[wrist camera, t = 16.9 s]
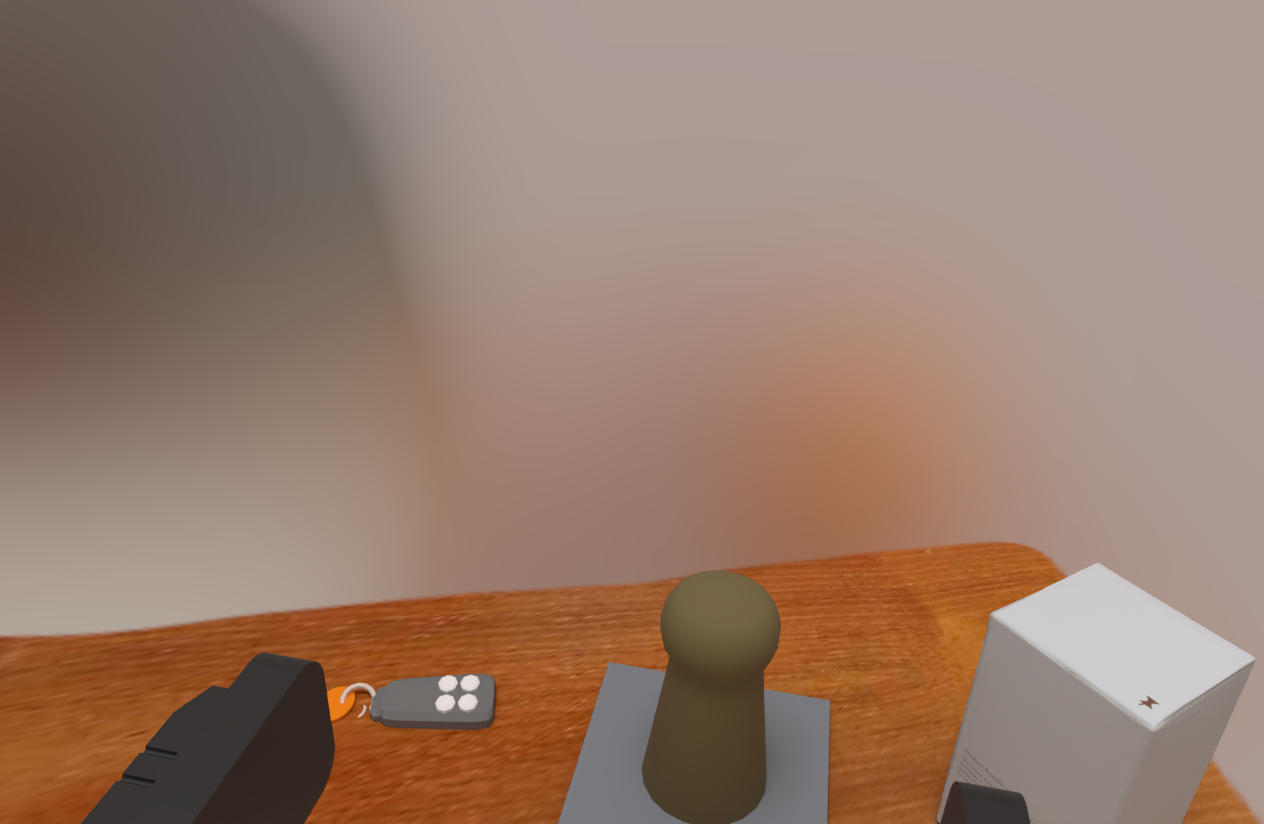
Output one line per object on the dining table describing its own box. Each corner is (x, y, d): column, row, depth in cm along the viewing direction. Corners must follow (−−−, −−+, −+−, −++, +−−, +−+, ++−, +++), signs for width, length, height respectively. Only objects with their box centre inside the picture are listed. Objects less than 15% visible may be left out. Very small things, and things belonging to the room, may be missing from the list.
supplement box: (1166, 870, 43) (1268, 660, 37) (1061, 949, 39) (1154, 732, 33) (1031, 756, 48) (1099, 556, 42) (928, 817, 45) (986, 609, 39)
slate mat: (549, 859, 42) (549, 850, 42) (608, 670, 52) (609, 662, 52) (823, 916, 40) (825, 907, 40) (828, 708, 50) (830, 700, 50)
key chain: (497, 683, 52) (496, 663, 51) (493, 736, 49) (492, 715, 48) (253, 688, 51) (249, 668, 50) (233, 743, 47) (227, 722, 47)
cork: (763, 729, 48) (788, 556, 43) (770, 831, 43) (801, 648, 38) (644, 720, 48) (655, 546, 43) (637, 821, 43) (649, 637, 38)
